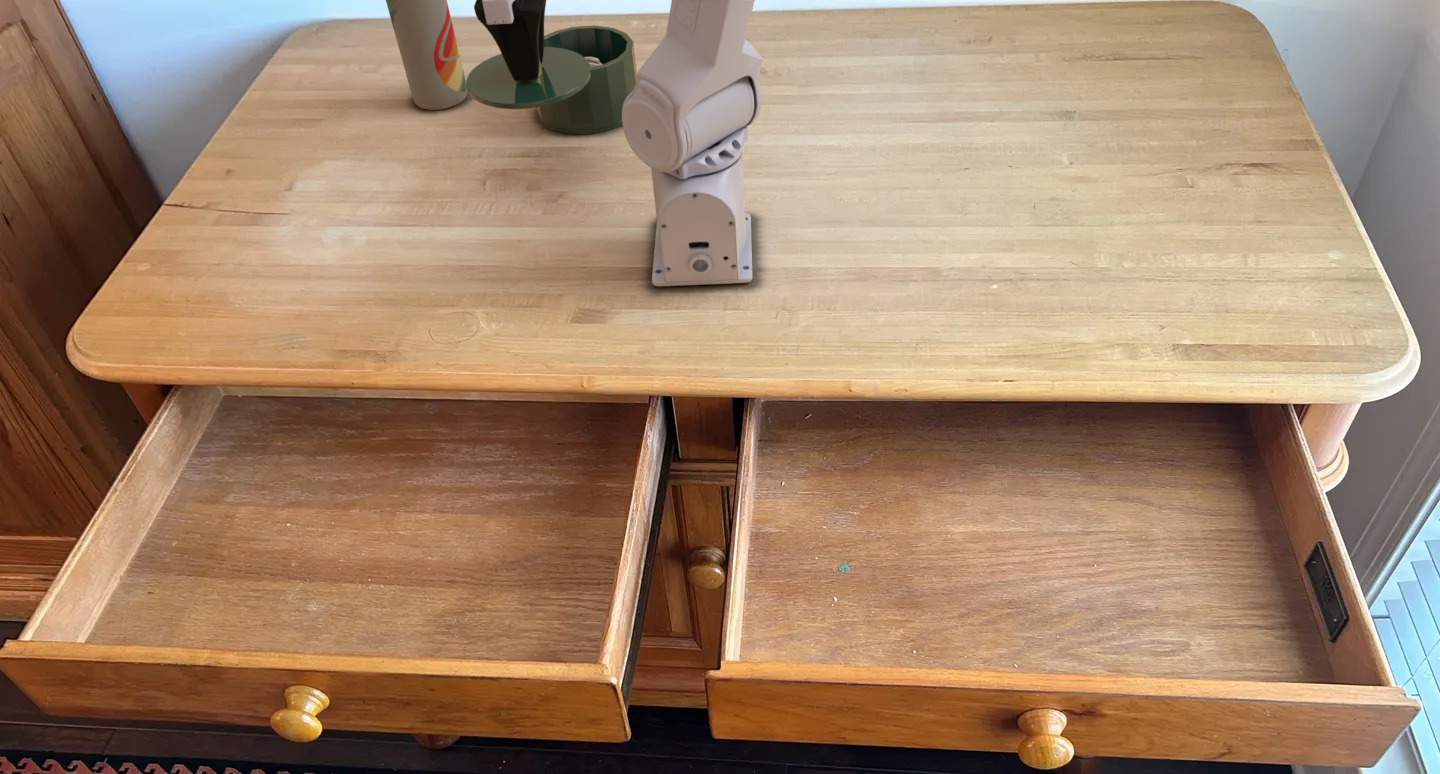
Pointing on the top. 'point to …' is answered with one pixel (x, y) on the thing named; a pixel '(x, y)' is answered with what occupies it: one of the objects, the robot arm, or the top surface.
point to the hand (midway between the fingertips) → (528, 70)
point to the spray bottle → (429, 52)
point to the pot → (593, 80)
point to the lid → (529, 81)
